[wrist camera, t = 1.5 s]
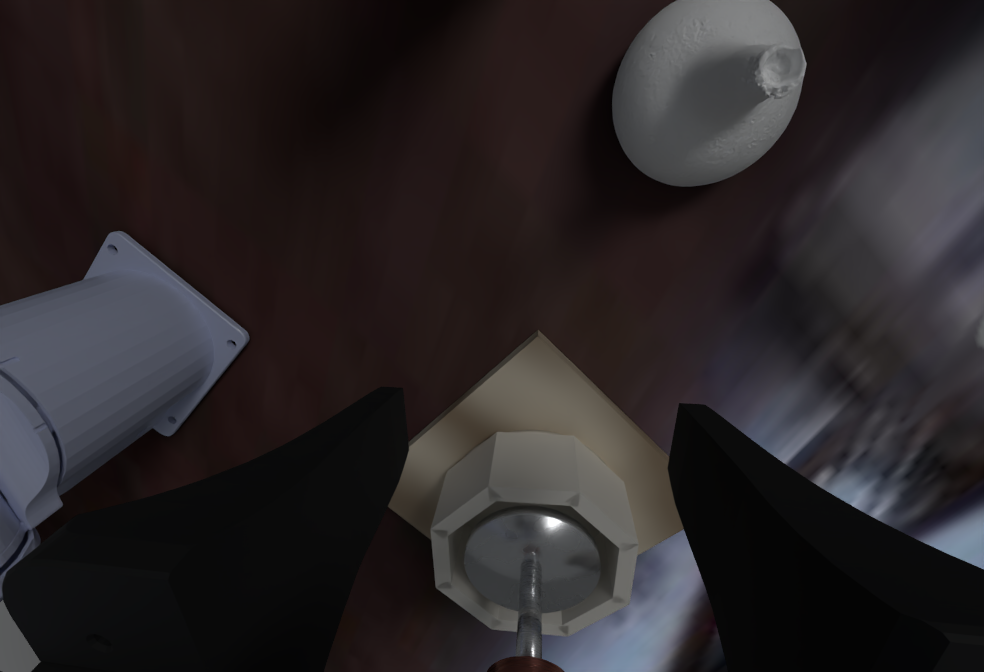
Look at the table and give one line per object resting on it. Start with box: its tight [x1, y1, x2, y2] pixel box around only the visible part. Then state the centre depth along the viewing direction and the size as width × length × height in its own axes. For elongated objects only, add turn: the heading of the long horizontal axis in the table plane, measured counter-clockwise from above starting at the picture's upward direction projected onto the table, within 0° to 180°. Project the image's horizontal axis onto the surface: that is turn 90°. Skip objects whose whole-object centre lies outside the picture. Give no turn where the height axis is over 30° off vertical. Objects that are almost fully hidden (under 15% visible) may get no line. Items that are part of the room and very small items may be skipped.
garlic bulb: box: [612, 0, 807, 187], centre depth 14 cm, size 6×6×8 cm
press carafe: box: [430, 430, 639, 636], centre depth 23 cm, size 9×9×4 cm
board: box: [388, 330, 684, 555], centre depth 26 cm, size 14×14×1 cm
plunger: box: [464, 505, 601, 672], centre depth 18 cm, size 6×6×8 cm
